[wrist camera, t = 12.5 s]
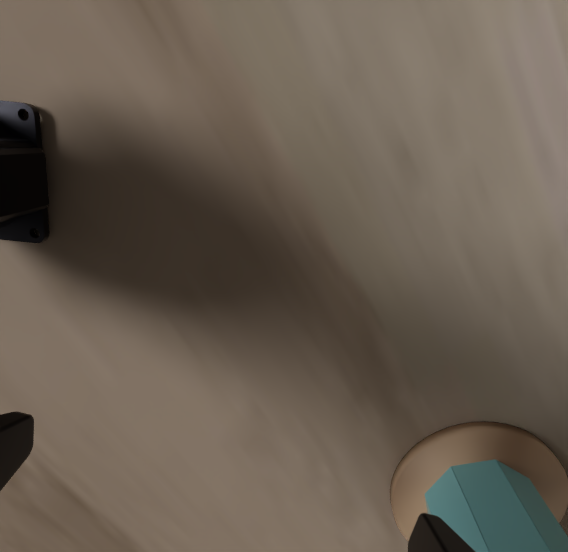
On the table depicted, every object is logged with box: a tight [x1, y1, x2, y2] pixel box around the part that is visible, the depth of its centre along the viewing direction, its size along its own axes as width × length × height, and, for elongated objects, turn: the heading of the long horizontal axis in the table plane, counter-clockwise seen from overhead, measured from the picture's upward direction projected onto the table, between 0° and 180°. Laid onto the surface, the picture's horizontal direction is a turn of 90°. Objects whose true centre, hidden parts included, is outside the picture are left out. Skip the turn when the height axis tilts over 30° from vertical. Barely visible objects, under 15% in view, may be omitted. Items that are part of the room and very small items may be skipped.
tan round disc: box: [390, 422, 568, 541], centre depth 24 cm, size 10×10×1 cm
